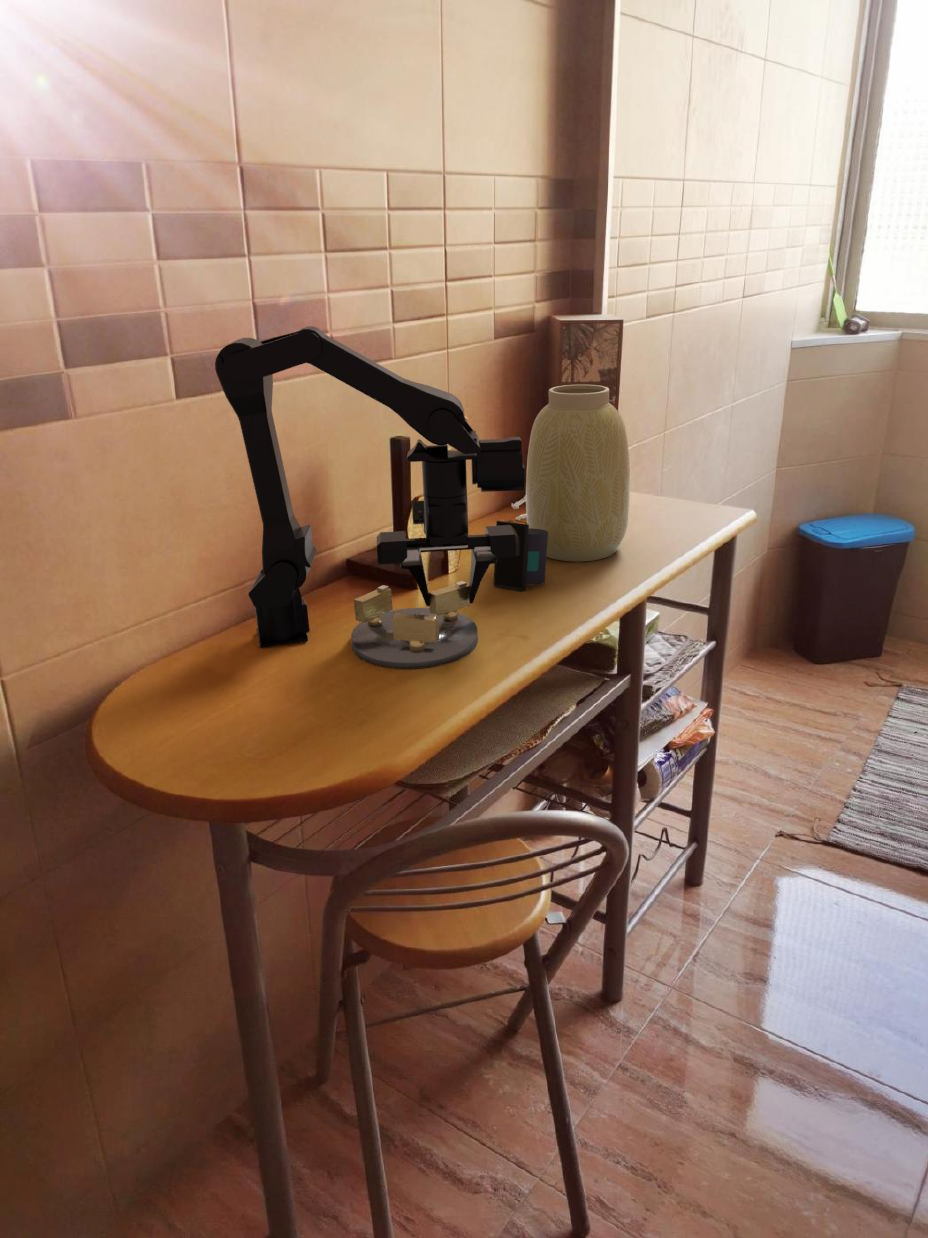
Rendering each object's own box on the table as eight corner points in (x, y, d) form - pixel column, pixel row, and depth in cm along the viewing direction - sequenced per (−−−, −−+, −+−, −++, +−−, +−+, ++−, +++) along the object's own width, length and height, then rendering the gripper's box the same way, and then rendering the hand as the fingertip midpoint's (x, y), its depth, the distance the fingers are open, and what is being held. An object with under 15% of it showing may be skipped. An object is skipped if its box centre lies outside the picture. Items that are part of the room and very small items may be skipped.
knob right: (437, 626, 126) (435, 593, 124) (429, 622, 127) (427, 589, 126) (471, 616, 129) (469, 583, 127) (462, 612, 130) (461, 579, 128)
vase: (556, 572, 148) (557, 402, 138) (509, 543, 163) (506, 387, 153) (647, 555, 155) (655, 390, 144) (594, 528, 169) (597, 377, 159)
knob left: (366, 633, 125) (363, 599, 123) (355, 630, 126) (352, 596, 124) (394, 619, 129) (392, 586, 127) (384, 616, 130) (381, 584, 128)
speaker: (518, 594, 139) (520, 526, 136) (492, 587, 144) (493, 520, 141) (553, 586, 144) (556, 520, 141) (528, 579, 148) (530, 515, 145)
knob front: (394, 650, 119) (391, 615, 117) (399, 644, 121) (396, 609, 119) (435, 654, 118) (434, 618, 116) (440, 647, 120) (438, 612, 118)
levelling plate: (364, 677, 116) (362, 661, 115) (342, 627, 131) (341, 612, 130) (494, 657, 120) (493, 642, 119) (458, 610, 135) (457, 596, 134)
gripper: (507, 474, 129) (509, 579, 135) (373, 481, 128) (380, 587, 134) (519, 494, 119) (520, 608, 125) (373, 502, 118) (381, 616, 124)
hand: (449, 603), depth 127 cm, fingers closed on knob right, 5 cm apart
